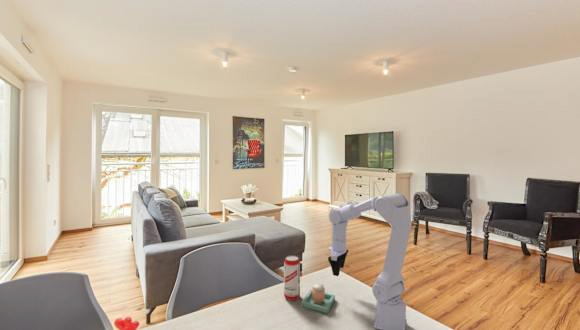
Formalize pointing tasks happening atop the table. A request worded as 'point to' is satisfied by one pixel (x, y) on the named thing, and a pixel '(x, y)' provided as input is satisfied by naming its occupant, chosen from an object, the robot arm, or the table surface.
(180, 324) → the table surface
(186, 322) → the table surface
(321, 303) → the shaker
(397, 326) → the robot arm
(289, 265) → the beer can
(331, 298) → the tray
